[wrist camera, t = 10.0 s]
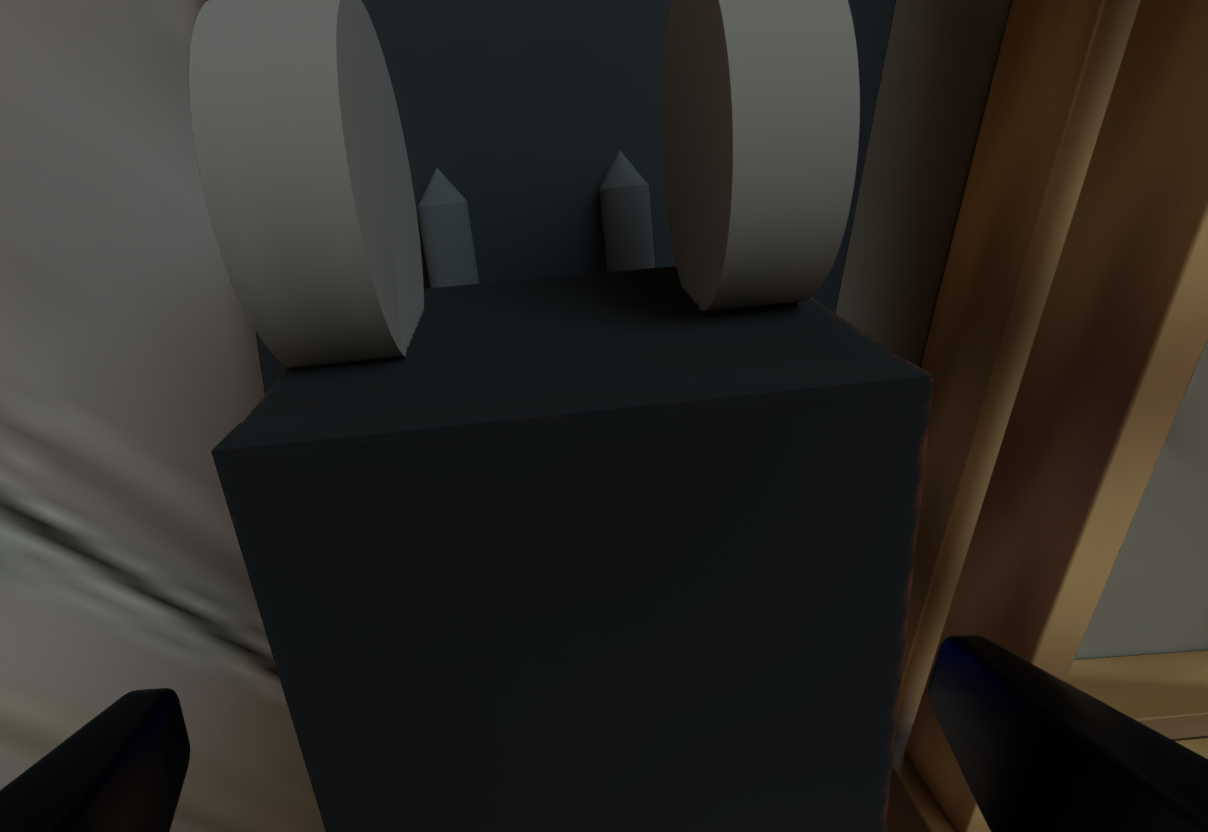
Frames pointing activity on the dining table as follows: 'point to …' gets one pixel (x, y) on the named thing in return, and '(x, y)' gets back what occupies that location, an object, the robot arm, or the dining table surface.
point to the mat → (552, 122)
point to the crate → (1059, 367)
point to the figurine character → (567, 449)
